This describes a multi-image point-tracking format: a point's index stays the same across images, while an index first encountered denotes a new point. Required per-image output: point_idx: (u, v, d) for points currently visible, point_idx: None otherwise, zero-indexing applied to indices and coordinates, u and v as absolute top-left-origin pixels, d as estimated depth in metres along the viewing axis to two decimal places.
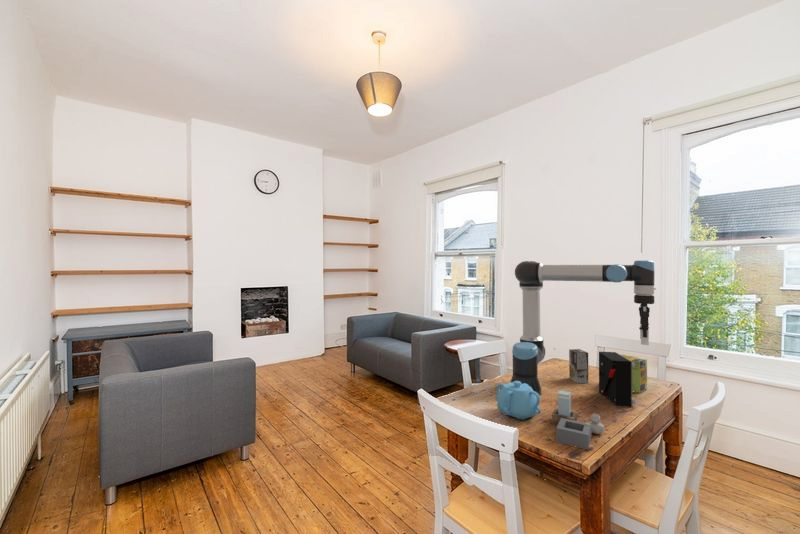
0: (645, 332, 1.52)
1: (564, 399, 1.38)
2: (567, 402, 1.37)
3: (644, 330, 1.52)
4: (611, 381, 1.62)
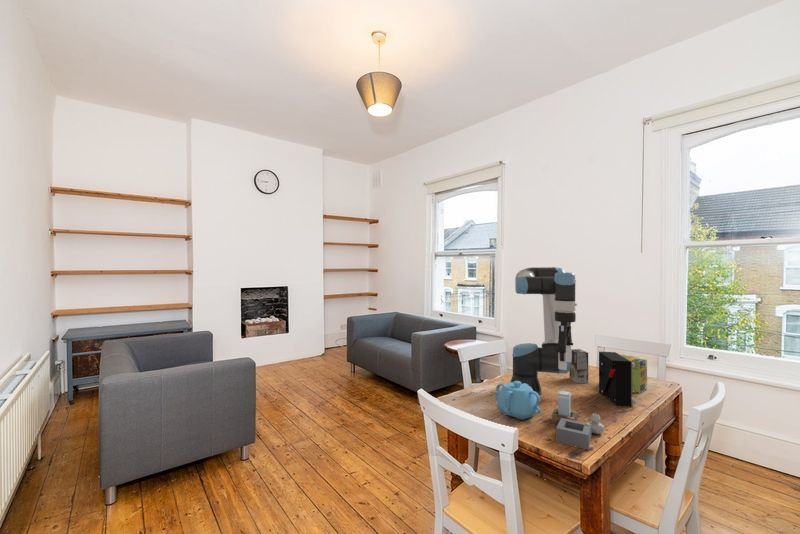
0: (562, 355, 1.32)
1: (564, 399, 1.38)
2: (567, 402, 1.37)
3: (561, 353, 1.32)
4: (611, 381, 1.62)
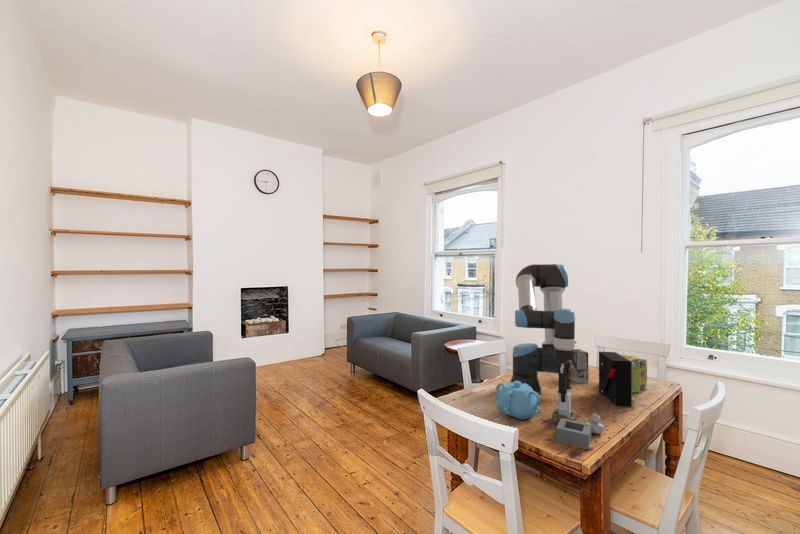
0: (563, 396, 1.36)
1: None
2: (567, 402, 1.37)
3: (562, 394, 1.36)
4: (611, 381, 1.62)
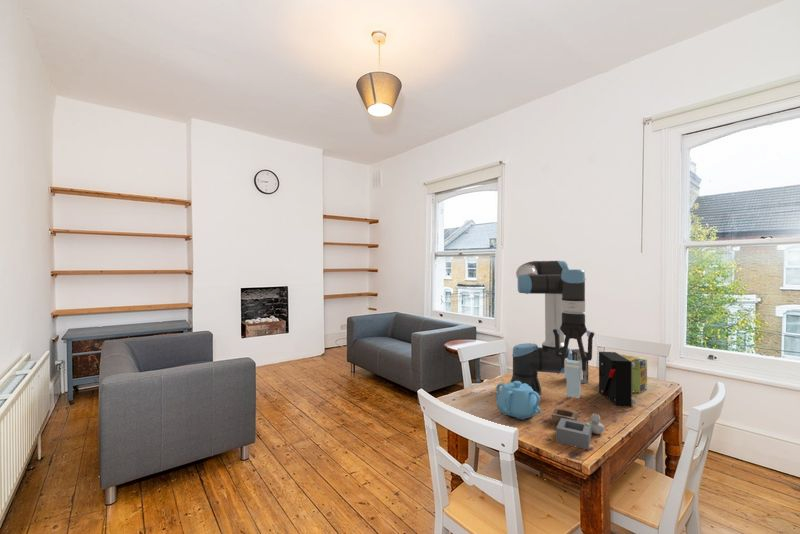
0: None
1: None
2: None
3: None
4: (611, 381, 1.62)
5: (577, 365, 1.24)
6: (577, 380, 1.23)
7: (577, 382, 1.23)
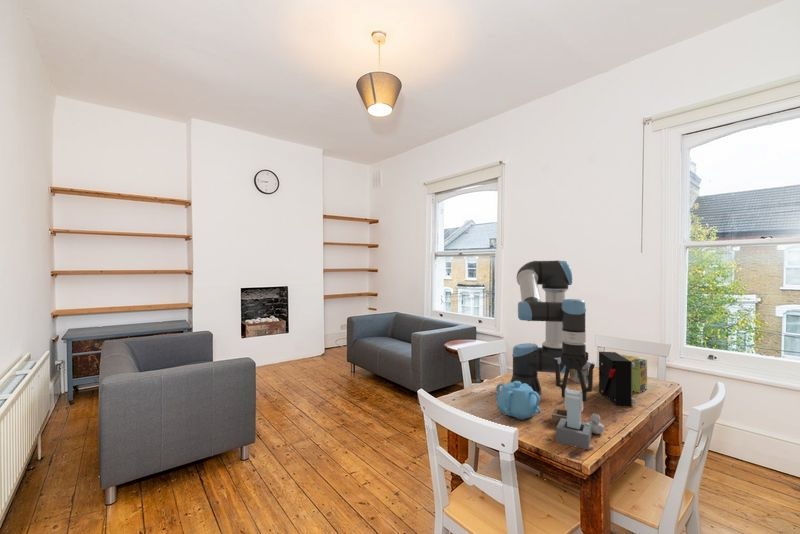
0: None
1: None
2: (567, 400, 1.26)
3: None
4: (611, 381, 1.62)
5: (577, 396, 1.23)
6: (577, 411, 1.23)
7: (577, 413, 1.23)
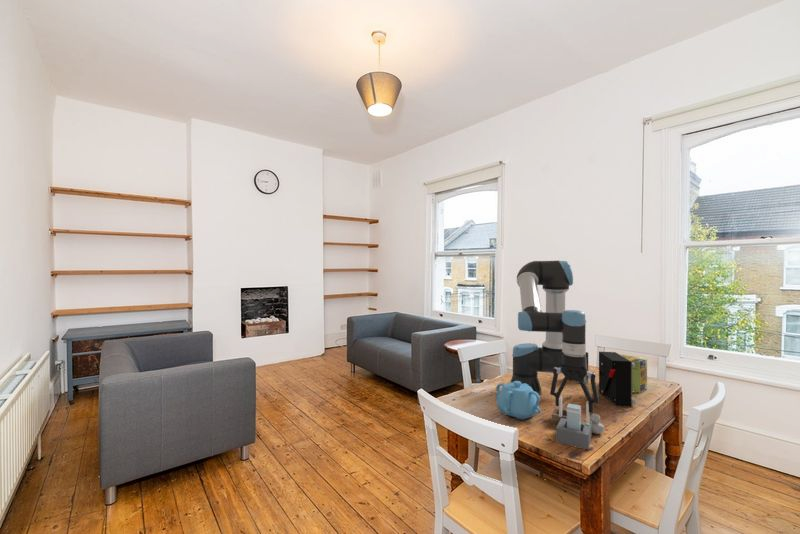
0: None
1: None
2: (567, 414, 1.26)
3: None
4: (611, 381, 1.62)
5: (577, 411, 1.23)
6: (577, 426, 1.23)
7: (577, 428, 1.23)
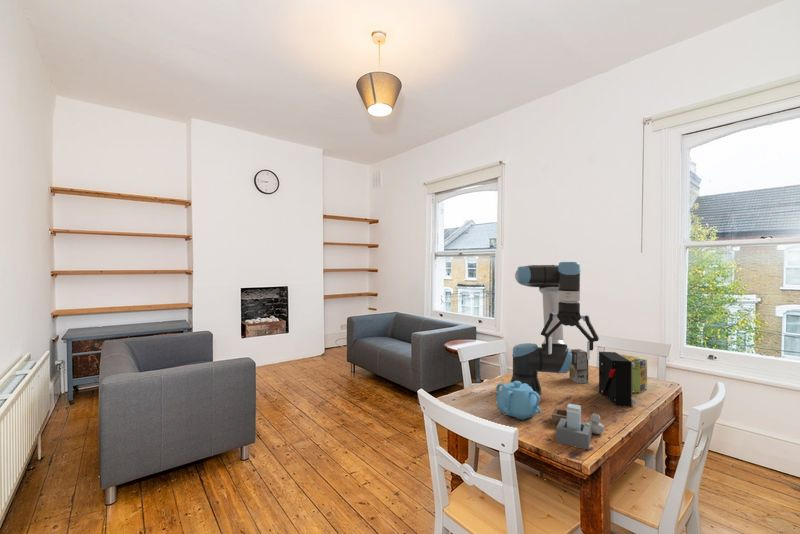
0: None
1: None
2: (567, 414, 1.26)
3: None
4: (611, 381, 1.62)
5: (577, 411, 1.23)
6: (577, 426, 1.23)
7: (577, 428, 1.23)
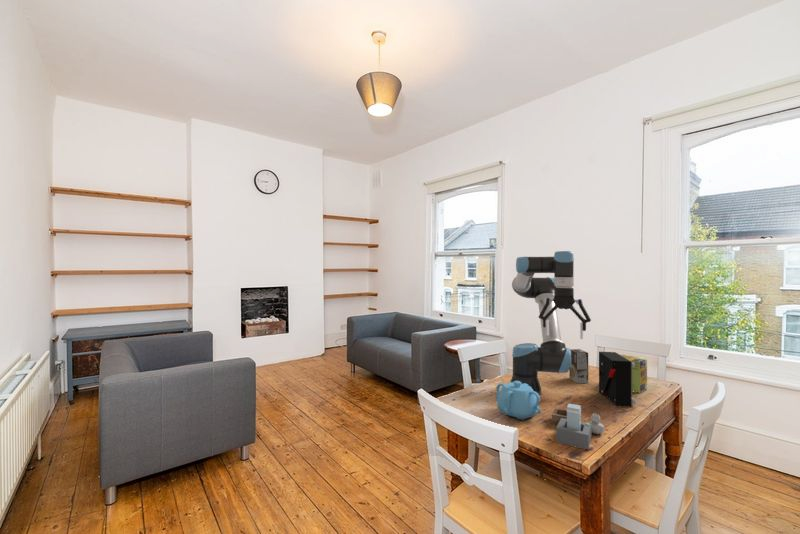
0: None
1: None
2: (567, 414, 1.26)
3: None
4: (611, 381, 1.62)
5: (577, 411, 1.23)
6: (577, 426, 1.23)
7: (577, 428, 1.23)
